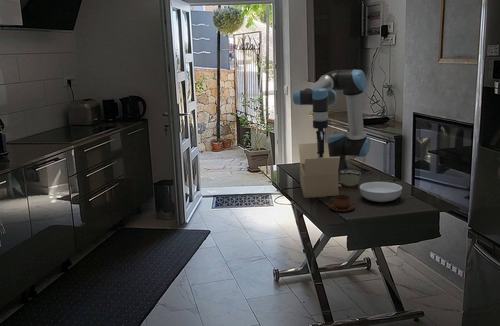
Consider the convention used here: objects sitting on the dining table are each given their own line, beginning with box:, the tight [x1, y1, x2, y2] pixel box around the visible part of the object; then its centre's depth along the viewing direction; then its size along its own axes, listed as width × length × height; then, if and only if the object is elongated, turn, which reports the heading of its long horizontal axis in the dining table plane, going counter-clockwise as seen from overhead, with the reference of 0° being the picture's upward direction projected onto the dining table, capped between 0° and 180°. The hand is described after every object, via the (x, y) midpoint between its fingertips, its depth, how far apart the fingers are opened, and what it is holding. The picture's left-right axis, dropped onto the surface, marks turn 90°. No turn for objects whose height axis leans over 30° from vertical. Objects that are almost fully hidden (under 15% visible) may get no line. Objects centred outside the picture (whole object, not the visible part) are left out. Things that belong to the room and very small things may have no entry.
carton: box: [299, 162, 339, 199], centre depth 265 cm, size 18×28×12 cm, turn 178°
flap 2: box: [304, 157, 340, 176], centre depth 244 cm, size 17×14×1 cm
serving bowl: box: [359, 181, 403, 203], centre depth 243 cm, size 21×21×7 cm
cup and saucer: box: [328, 194, 356, 212], centre depth 232 cm, size 12×12×6 cm
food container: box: [338, 169, 362, 191], centre depth 264 cm, size 12×6×10 cm, turn 65°
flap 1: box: [298, 142, 329, 164], centre depth 281 cm, size 17×14×1 cm
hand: (320, 165), depth 245 cm, fingers closed
